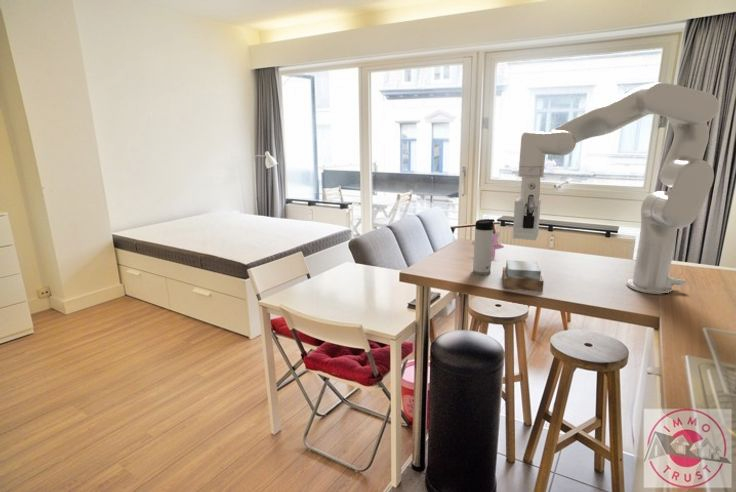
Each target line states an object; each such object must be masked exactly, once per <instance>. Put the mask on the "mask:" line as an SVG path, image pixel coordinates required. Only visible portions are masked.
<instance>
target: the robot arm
mask: <svg viewBox="0 0 736 492" xmlns="http://www.w3.org/2000/svg"><path fill="white" fill-rule="evenodd" d="M719 107H720V103H719V100H718V99H717V97H716V96H715V95H714V94H713V93H710V92H709V91H703V90H698V89H695V88H690V87H687V86H686V87H685V86H682V85H678V84H673V83H669V82H661V81H660V82H654V83H653V82H652V83H647V84H643V85H641V86H638V87H636V88H634V89H633V90H631V91H628V92H626V93H625V94H623V95H620V96H619V97H616V98H615V99H613V100H610V101H609V102H607V103H605V104H603V105H601V106H599V107H596V108H594V109H592V110H590V111H588V112H585V113H584V114H582V115H580V116H578V117H575V118H573V119H571V120H569V121H567V122H565V123H562V124H561V125H559V126H557V127H555V128H553V129H552V130H549V131H548V132H545V131H525V132H523V133H522V135H521V137H520V147H519V148H520V150H519V151H520V152H519V162H518V175H517V176H518V177H520V178H521V183H520V184H521V185H520V198H521V200H522V204H523V208H525V216H524V217H523V228H527V229H533V227H534V205H535V207H537V208H539V199H540V195H541V193H540V192H541V178H544V173H545V162H546V156H556V157H558V156H559V157H562V156H563V157H564V156H567V155H569V154H570V153H572V152H573V151H574V149H575V147H576V145H577V143H580V142H582V141H584V140H587V139H591V138H594V137H600V136H604V135H608V134H611V133H614V132H615V131H617V130H619V129H622V128H623V127H625V126H628V125H629V124H631V123H633V122H635V121H638V120H640V119H642V118H644V117H647V116H648V115H657V116H662V117H665V118H666V120H667V121H668V122H669V124H670V125H671V127H672V130H673V139H672V143H671V145H670V148H669V150H668V153H667V155H666V157H665V160H664V162H663V165H662V167H661V169H660V172H659V180H660V182H661V183H662V185H664V186H665V187H668V188H669V189H670V191H666V190H658V191H654V192H651V193H650V194H648V195H647V196H646V197H645V198H644V200H643V202H642V204H641V208H640V221H641V222H640V233H639V239H638V245H637V251H636V257H635V258H636V259H635V265H634V271H633V275H632V278H629V279H627V281H626V285H627V287H629V288H630V289H632V290H634V291H637V292H640V293H641V292H642V293H644V294H651V295H652V294H653V295H661V294H660V293H668V294H670V293H672V292H673V287H674V285H675V286H681V287H682V286H684V287H685V286H686V280H685V279H678V277H671V276H670V271H671V265H672V259H673V254H674V249H675V245H676V239H677V237H676V236H677V229H684V228H686V227H688V226H690V225H691V224H692V223H694V221H695V220H696V219H697V218H698V216H699V214H700V212H701V209H702V207H703V205H704V203H705V202H706V199H707V197H708V195H709V192H710V191H711V188H712V186H713V183H714V180H715V179H714V178H715V173H714V172H715V171H714V169H713V166H712V165H711V163H709V162H707V161H706V160H703V156H704V153H705V152H706V149H707V146H708V143H709V138H710V130H709V129H710V128H709V126H708V122H709V121H711V120H712V119H714V118H715V117H716V115H717V113H719V110H720V109H719ZM528 200H529V201H528ZM527 202H529V206H526V204H527ZM533 202H534V203H533ZM671 291H672V292H671ZM669 292H670V293H669Z"/></svg>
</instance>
